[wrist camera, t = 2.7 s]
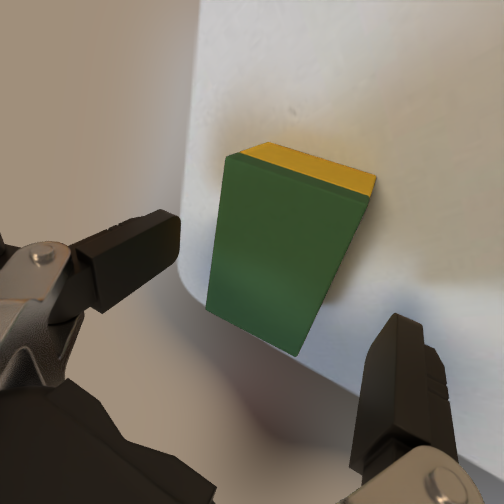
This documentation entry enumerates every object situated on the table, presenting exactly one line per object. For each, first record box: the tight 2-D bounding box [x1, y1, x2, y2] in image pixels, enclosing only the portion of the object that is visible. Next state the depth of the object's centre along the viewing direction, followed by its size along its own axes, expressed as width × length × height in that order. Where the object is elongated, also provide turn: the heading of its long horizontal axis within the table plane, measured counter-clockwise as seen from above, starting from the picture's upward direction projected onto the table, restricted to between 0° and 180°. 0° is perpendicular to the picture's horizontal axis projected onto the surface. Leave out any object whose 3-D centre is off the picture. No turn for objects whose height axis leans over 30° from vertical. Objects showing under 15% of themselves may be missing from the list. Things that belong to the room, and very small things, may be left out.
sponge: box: [206, 142, 376, 357], centre depth 11 cm, size 4×7×4 cm, turn 168°
